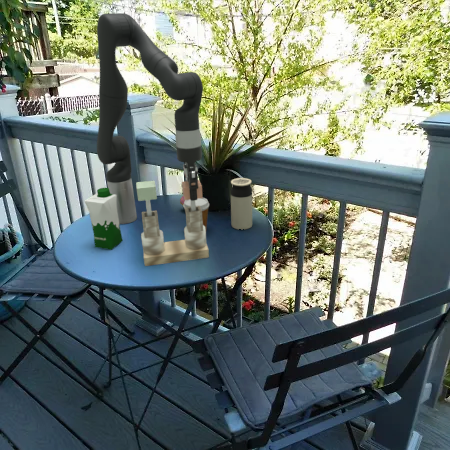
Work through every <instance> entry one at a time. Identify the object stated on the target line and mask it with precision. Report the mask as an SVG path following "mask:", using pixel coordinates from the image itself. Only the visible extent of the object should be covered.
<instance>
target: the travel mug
mask: <svg viewBox="0 0 450 450" xmlns="http://www.w3.org/2000/svg"><path fill="white" fill-rule="evenodd" d="M230 184H231V188H230V216H231V217H230V219H231V221H230V223H231V227H232V228H234V229H235V230H239V229H241V230H243V229H244V230H248V229H250V228H252V226H253V188H252V186H251V184H252V180H251V179H250V178H247V177H237V178H234V179H231V180H230Z"/></svg>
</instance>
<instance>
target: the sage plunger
mask: <svg viewBox="0 0 450 450" xmlns="http://www.w3.org/2000/svg"><path fill="white" fill-rule="evenodd" d="M135 183H136V184H135V185H136V186H135V187H136V194H137V200H138V201H137V202H141V201H142V202H143V201H145V207H146V212H147V216H152V212H151V211H152V204H151V201H152V200H157V199H158V197H157V196H158V195H157V188H156V187H157V186H156V182H155V180H146V181H139V182H138V181H137V182H135Z"/></svg>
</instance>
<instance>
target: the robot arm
mask: <svg viewBox="0 0 450 450" xmlns="http://www.w3.org/2000/svg"><path fill="white" fill-rule="evenodd" d="M96 26H97V28H96V32H97V33H96V35H97V45H98V46H97V48H98V57H99V58H98V62H99V86H98V87H99V89H98V91H99V92H98V101H99V102H98V105H99V106H98V107H99V108H98V109H99V111H98V112H99V114H98V115H99V117H98V119H99V120H98V129H97V137H96V139H97V141H96V153H97V158H98V159H99V162H101V164H103V165H111V164H114V165H113V166H112V167H111V168H109V170H108V171H107V172H106V174H105V176H106V177H105V178H106V183H107V188H109V191H110V194H115V195H117V213H118V219H119V225H125V224H131V223H134V222H135V221H137V219H138V216H137V215H138V214H137V209H136V201H135V196H134V194H135V193H134V188H133V187H134V186H133V181H132V161H131V160H132V159H131V150H130V145H129V142H128V141H127V139H126V138H125V136H123V135H116V136H114V134H115V133H114V132H115V130H116V128H117V126H118V124H119V123H120V121H121V120H122V118H123V117H124V115H125V113H126V110H127V107H128V97H129V93H128V92H129V91H128V90H129V89H128V85H127V83H126V80H125V78H124V77H123V75H122V73H121V72H120V69H119V67H118V65H117V58H116V50H117V48H118V47H119V48H120V47H121V48H122V47H123V48H124V47H128V46H129V47H132V48H134V49H135V50H136V51H138V53H139V56H140V60H141V64H142V65H143V67H144V68H145V70H147V72H148V73H150V74H151V75H152V77H154V78H155V79H156V80H158V82H159V84H160V85H161V87H162V89H163V91H164V92H165V94H166V95H167V96H168V97H169V98H170V99H172V100H174V101H183V103H182V105H181V106H180V107H178V108H177V109H176V110H175V111H174V114H173V115H174V125H175V129H174V130H175V148H176V150H175V151H176V159H177V161H178V162H181V163H183V164H182V165H183V173H184V174H183V175H184V178H185V181H187V182H188V183H189V190H190V200H191V201H194V200H197V189H198V180H199V176H198V173H199V172H198V171H199V169H198V166H197V163H196V162H198V161H201V160H202V159H203V158H202V157H203V151H202V150H203V149H202V137H201V130H200V129H201V128H200V119H199V118H200V116H199V114H200V109H201V103H202V97H203V93H204V91H203V90H204V87H203V82H202V79H201V77H200V76H199V74H198V73H196V72H193V71H188V72H187V71H186V72H182V73H179V67H178V64H177V63H176V61H175V60H173V59H172V58H171V57H170V56H169V55H167V54H166V53H165V52H164V51H163V50H162V49H160V48H159V47H158V46H157V45H156V44H155V43H154V42H153V40H152V39H151V38H150V37H149V36H148V33H146V32H145V30H143V28H142V27H141V26H140V24H139V23H138V22H137V21H136V20H135V19H134V17H132V16H131V15H130V14H127V13H117V12H115V13H102V14H101V15H100V16H99V18H98V20H97V24H96ZM191 183H195V185H191Z"/></svg>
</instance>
